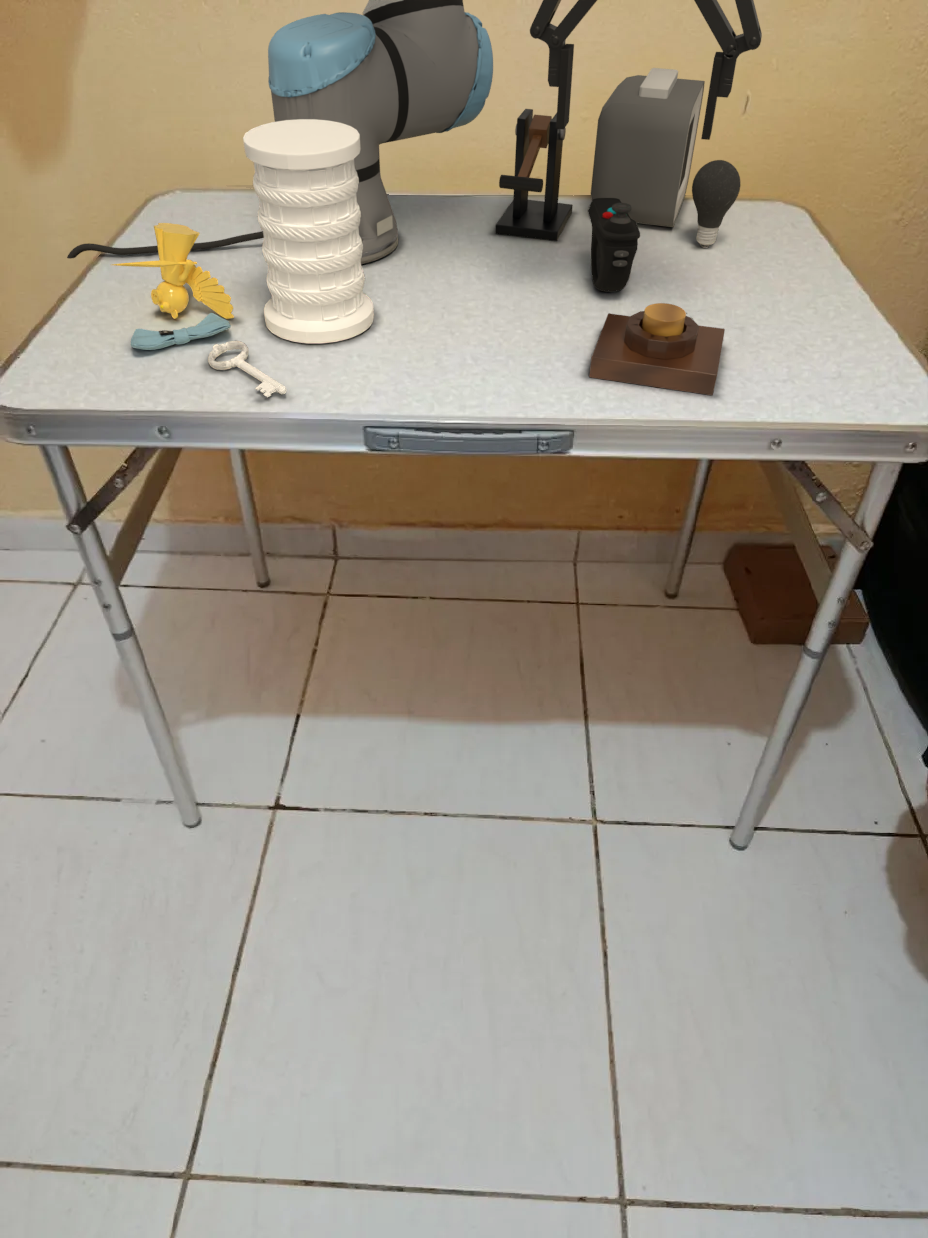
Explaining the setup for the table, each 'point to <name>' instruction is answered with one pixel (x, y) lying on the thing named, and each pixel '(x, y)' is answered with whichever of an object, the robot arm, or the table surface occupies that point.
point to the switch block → (658, 355)
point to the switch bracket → (547, 214)
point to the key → (244, 366)
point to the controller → (612, 243)
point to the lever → (530, 157)
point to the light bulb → (714, 197)
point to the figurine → (182, 274)
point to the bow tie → (178, 334)
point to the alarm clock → (648, 144)
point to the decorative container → (310, 229)
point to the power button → (663, 319)
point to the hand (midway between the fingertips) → (633, 130)
